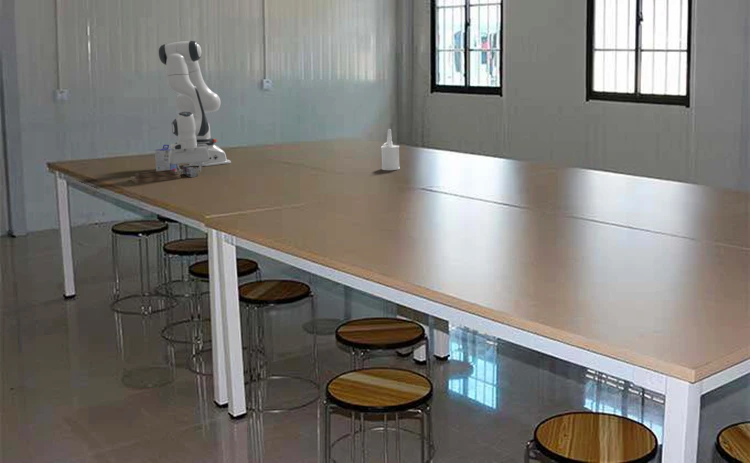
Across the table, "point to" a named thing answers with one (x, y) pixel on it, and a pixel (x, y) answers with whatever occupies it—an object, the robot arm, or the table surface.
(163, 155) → the ink cartridge box
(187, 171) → the two-tone gray stick
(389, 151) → the white glue bottle
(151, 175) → the cradle
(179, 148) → the robot arm
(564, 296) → the table surface
